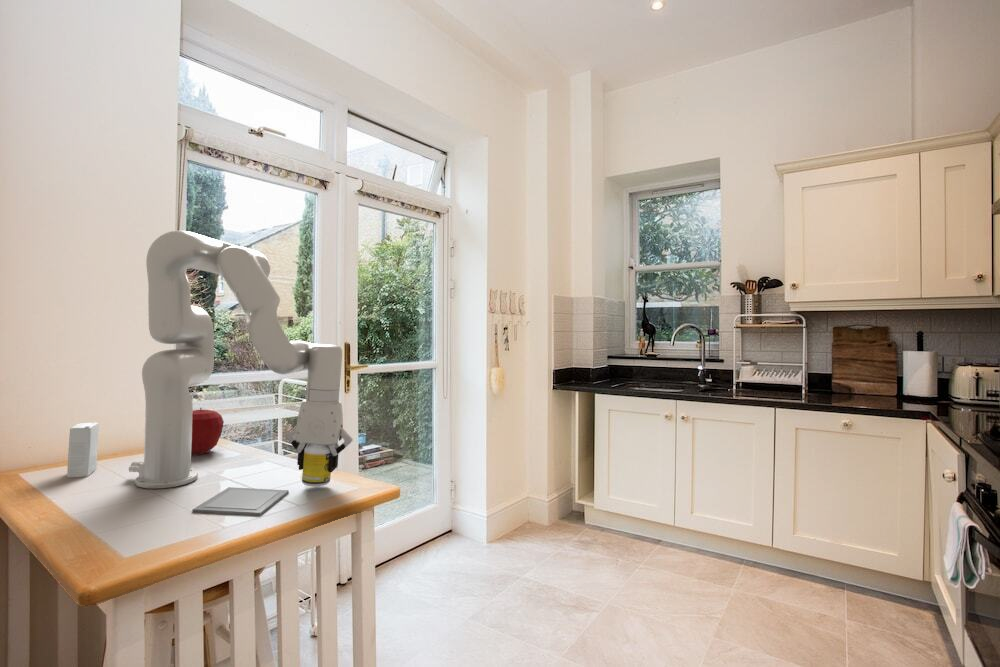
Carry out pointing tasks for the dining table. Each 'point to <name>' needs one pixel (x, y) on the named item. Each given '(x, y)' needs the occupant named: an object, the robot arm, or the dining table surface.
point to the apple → (205, 430)
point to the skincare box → (82, 450)
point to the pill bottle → (316, 465)
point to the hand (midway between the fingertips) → (317, 468)
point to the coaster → (241, 501)
